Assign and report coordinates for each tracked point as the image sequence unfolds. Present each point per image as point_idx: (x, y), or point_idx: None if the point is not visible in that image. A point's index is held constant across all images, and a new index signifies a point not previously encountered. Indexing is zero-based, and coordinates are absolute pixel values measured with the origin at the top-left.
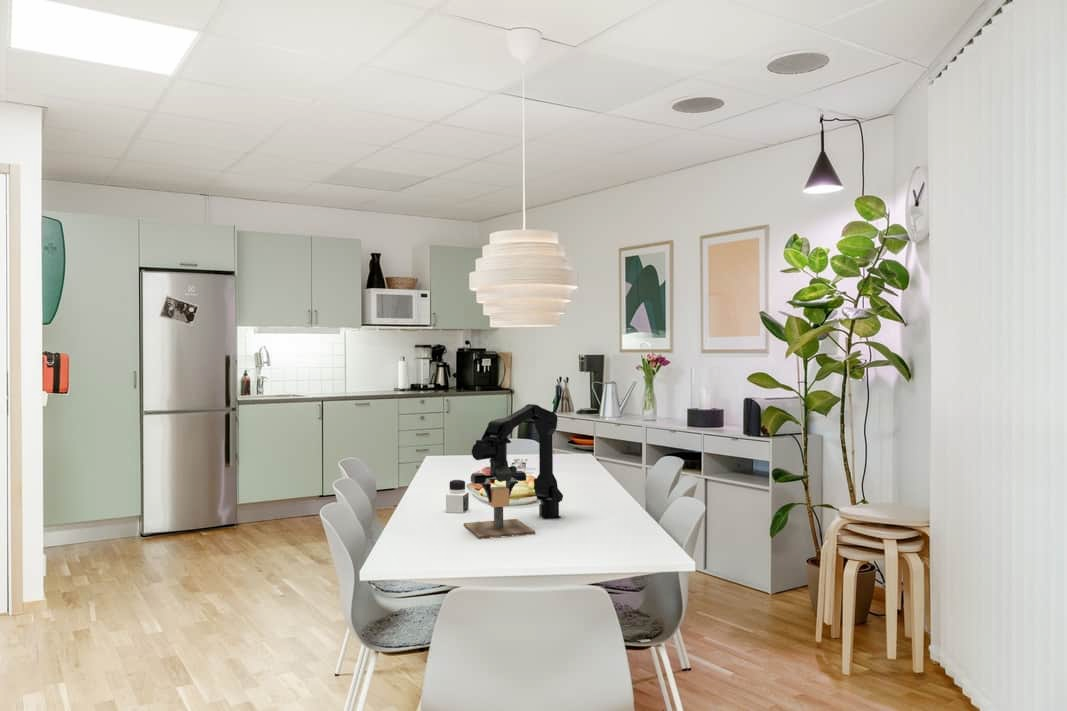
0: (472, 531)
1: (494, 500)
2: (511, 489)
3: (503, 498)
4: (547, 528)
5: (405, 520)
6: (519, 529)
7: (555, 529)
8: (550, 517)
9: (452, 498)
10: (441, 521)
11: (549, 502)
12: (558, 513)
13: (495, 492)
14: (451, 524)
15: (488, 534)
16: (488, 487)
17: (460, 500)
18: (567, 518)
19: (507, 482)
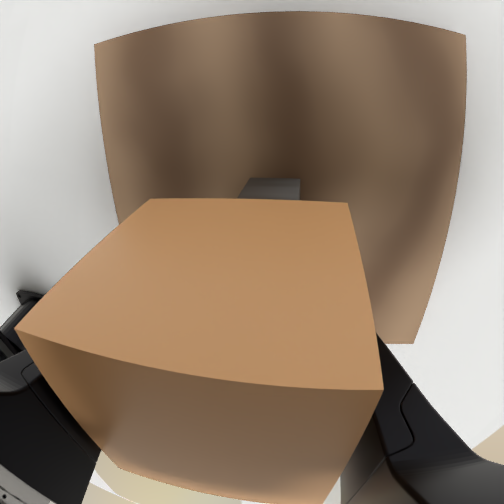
0: (457, 173)
1: (334, 244)
2: (24, 354)
3: (176, 247)
4: (43, 152)
5: (495, 421)
6: (163, 96)
7: (21, 127)
8: (38, 296)
9: (340, 496)
10: (433, 403)
11: (9, 337)
12: (18, 308)
13: (314, 338)
14: (434, 366)
15: (401, 36)
16: (447, 472)
17: None
18: (4, 276)
19: (48, 476)
